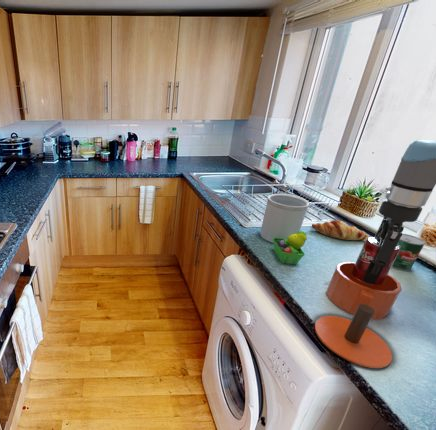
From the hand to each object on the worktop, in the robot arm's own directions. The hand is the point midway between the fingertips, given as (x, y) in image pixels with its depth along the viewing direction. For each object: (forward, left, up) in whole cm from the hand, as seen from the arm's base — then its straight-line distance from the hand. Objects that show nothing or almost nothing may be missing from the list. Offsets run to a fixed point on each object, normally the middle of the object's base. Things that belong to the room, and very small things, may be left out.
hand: (367, 275), depth 83 cm
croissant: (+6, -48, -10) cm, 49 cm away
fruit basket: (+21, -14, -10) cm, 27 cm away
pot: (0, 0, -10) cm, 10 cm away
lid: (+1, +20, -9) cm, 22 cm away
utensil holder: (+27, -29, -10) cm, 41 cm away
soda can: (0, 0, -1) cm, 1 cm away
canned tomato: (-12, -35, -10) cm, 38 cm away
